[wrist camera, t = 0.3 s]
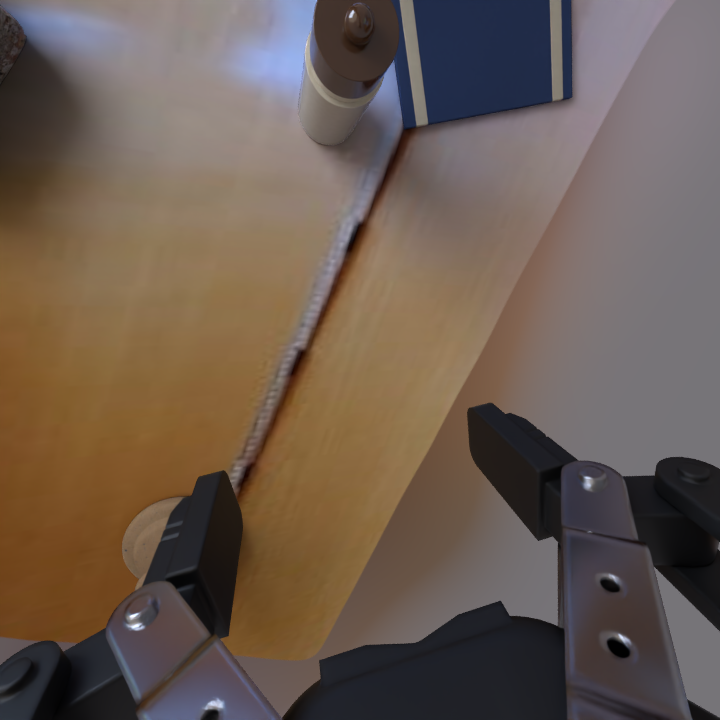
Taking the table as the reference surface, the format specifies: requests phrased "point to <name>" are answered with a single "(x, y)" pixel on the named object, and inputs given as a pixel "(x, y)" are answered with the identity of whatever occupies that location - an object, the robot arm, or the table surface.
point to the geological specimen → (9, 42)
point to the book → (480, 57)
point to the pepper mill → (345, 65)
